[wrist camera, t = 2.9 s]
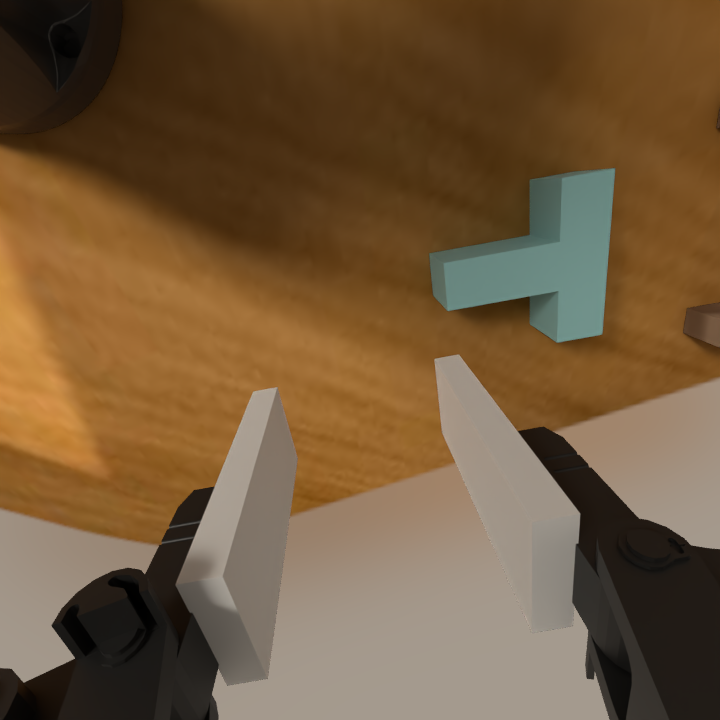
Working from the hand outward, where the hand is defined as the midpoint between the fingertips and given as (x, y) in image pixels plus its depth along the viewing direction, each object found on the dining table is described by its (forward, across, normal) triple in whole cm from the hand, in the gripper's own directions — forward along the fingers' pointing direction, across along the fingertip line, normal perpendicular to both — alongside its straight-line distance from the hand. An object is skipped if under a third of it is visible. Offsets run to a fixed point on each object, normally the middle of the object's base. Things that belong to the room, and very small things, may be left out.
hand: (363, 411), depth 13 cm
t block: (+17, +11, 0) cm, 20 cm away
